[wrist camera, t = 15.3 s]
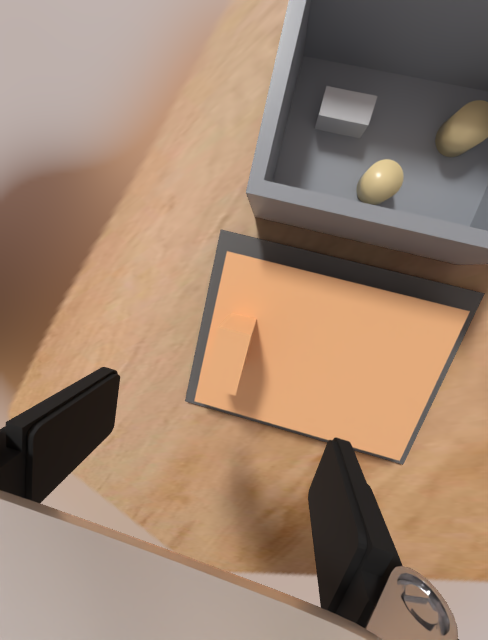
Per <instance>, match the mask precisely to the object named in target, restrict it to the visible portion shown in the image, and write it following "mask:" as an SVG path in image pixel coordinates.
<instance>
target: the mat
mask: <svg viewBox="0 0 488 640" xmlns="http://www.w3.org/2000/svg"><path fill="white" fill-rule="evenodd" d="M227 251H228V252H233V253H237V254H241V255H245V256H249V257H253V258H257V259H261V260H265V261H269V262H273V263H277V264H281V265H285V266H289V267H293V268H297V269H301V270H305V271H309V272H313V273H317V274H321V275H325V276H329V277H333V278H337V279H341V280H345V281H349V282H353V283H358V284H362V285H366V286H370V287H374V288H378V289H382V290H386V291H390V292H394V293H398V294H402V295H406V296H410V297H414V298H418V299H422V300H426V301H430V302H434V303H438V304H442V305H446V306H450V307H454V308H458V309H462V310H466V311H470V312H469V314H468V316H467V319H466V321H465V323H464V325H463V327H462V329H461V331H460V333H459V336H458V338H457V340H456V342H455V344H454V346H453V348H452V350H451V353H450V355H449V357H448V359H447V361H446V363H445V365H444V367H443V370H442V372H441V374H440V376H439V378H438V380H437V382H436V385H435V387H434V389H433V391H432V393H431V395H430V397H429V399H428V402H427V404H426V406H425V408H424V410H423V412H422V414H421V416H420V419H419V421H418V423H417V425H416V427H415V429H414V431H413V433H412V436H411V438H410V440H409V442H408V444H407V446H406V448H405V451H404V453H403V455H402V457H401V459H400V461H399V460H395V459H392V458H388V457H385V456H381V455H378V454H374V453H371V452H368V451H364V450H361V449H357V448H354V447H353V450H354V451H358V452H361V453H365V454H368V455H372V456H375V457H378V458H382V459H385V460H389V461H392V462H396V463H399V464H402V465H403V464H404V462H405V460H406V457H407V455H408V453H409V451H410V449H411V447H412V445H413V443H414V441H415V439H416V436H417V434H418V432H419V430H420V428H421V426H422V424H423V422H424V420H425V418H426V415H427V413H428V411H429V409H430V407H431V405H432V403H433V401H434V399H435V397H436V394H437V392H438V390H439V388H440V386H441V384H442V382H443V380H444V378H445V376H446V373H447V371H448V369H449V367H450V365H451V363H452V361H453V359H454V357H455V355H456V352H457V350H458V348H459V346H460V344H461V342H462V340H463V338H464V336H465V333H466V331H467V329H468V327H469V325H470V323H471V321H472V319H473V317H474V315H475V312H476V310H477V308H478V306H479V304H480V302H481V300H482V298H483V296H484V294H485V293H481V292H476V291H472V290H468V289H464V288H460V287H456V286H452V285H448V284H443V283H439V282H435V281H431V280H427V279H423V278H419V277H415V276H410V275H406V274H402V273H398V272H394V271H390V270H386V269H382V268H377V267H373V266H369V265H365V264H361V263H357V262H353V261H349V260H344V259H340V258H336V257H332V256H328V255H324V254H320V253H316V252H312V251H307V250H303V249H299V248H295V247H291V246H287V245H283V244H279V243H274V242H270V241H266V240H262V239H258V238H254V237H250V236H246V235H241V234H237V233H233V232H229V231H225V230H221V231H220V236H219V240H218V245H217V250H216V255H215V260H214V264H213V269H212V274H211V279H210V284H209V288H208V293H207V298H206V303H205V308H204V313H203V317H202V322H201V327H200V332H199V337H198V341H197V346H196V351H195V356H194V361H193V365H192V370H191V375H190V380H189V385H188V390H187V394H186V399H185V401H186V402H190V403H193V404H196V405H200V406H203V407H207V408H210V409H214V410H217V411H220V412H224V413H227V414H231V415H234V416H238V417H241V418H244V419H248V420H251V421H255V422H258V423H262V424H265V425H269V426H272V427H275V428H279V429H282V430H286V431H289V432H293V433H296V434H299V435H303V436H306V437H310V438H313V439H317V440H320V441H323V442H327V443H328V441H329V440H326V439H323V438H319V437H316V436H312V435H309V434H306V433H302V432H299V431H295V430H292V429H288V428H285V427H281V426H278V425H275V424H271V423H268V422H264V421H261V420H257V419H254V418H251V417H247V416H244V415H240V414H237V413H233V412H230V411H226V410H223V409H220V408H216V407H213V406H209V405H206V404H202V403H199V402H195V401H194V400H195V396H196V391H197V386H198V382H199V377H200V373H201V368H202V364H203V359H204V354H205V350H206V345H207V341H208V336H209V331H210V327H211V322H212V318H213V313H214V308H215V304H216V299H217V295H218V290H219V285H220V281H221V276H222V272H223V267H224V262H225V258H226V253H227Z"/></svg>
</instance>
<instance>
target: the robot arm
mask: <svg viewBox="0 0 488 640" xmlns="http://www.w3.org/2000/svg"><path fill="white" fill-rule="evenodd" d="M119 382H120V376H119V375H118V373H117V371H116V370H113V369H109V368H106V367H102V368H100V369H98V370H96V371H95V372H93V373H91V374H89V375H88V376H86V377H84V378H82V379H81V380H79V381H77V382H75V383H74V384H72V385H70V386H68V387H67V388H65V389H63V390H61V391H60V392H58V393H56V394H54V395H53V396H51V397H49V398H47V399H46V400H44V401H42V402H40V403H39V404H37V405H35V406H33V407H32V408H30V409H28V410H26V411H25V412H23V413H21V414H19V415H18V416H16V417H14V418H12V419H11V420H9V421H7V422H6V426H5V427H3V428H2V429H0V640H459V639H458V631H457V624H456V622H455V619H454V616H453V613H452V612H451V610H450V608H449V606H448V604H447V602H446V601H445V600H444V598H443V597H442V596H441V594H440V593H439V592H438V590H437V589H436V588H435V587H434V586H433V585H432V584H431V583H430V582H429V581H428V580H427V579H426V578H424V577H423V576H422V575H421V574H419V573H418V572H416V571H414V570H413V569H411V568H408V567H404V566H402V563H401V561H400V558H399V556H398V553H397V551H396V548H395V546H394V543H393V541H392V539H391V536H390V534H389V531H388V529H387V526H386V524H385V521H384V519H383V516H382V514H381V511H380V509H379V506H378V504H377V502H376V499H375V497H374V494H373V492H372V489H371V488H370V486H369V485H368V484H367V483H366V480H365V478H364V475H363V473H362V470H361V468H360V465H359V463H358V460H357V458H356V455H355V452H354V450H353V447H352V445H351V443H350V442H349V441H346V440H343V439H340V438H336V437H335V438H334V439H333V440H329V441H328V443H327V445H326V448H325V451H324V453H323V456H322V458H321V461H320V463H319V466H318V468H317V471H316V474H315V476H314V479H313V481H312V484H311V486H310V489H309V494H308V502H309V510H310V518H311V527H312V535H313V544H314V552H315V561H316V569H317V578H318V586H319V594H320V603H321V608H320V607H318V606H315V605H313V604H310V603H308V602H305V601H303V600H300V599H298V598H295V597H293V596H290V595H288V594H285V593H283V592H280V591H277V590H275V589H272V588H270V587H267V586H264V585H262V584H259V583H256V582H253V581H251V580H248V579H245V578H243V577H240V576H237V575H235V574H232V573H229V572H227V571H224V570H221V569H219V568H216V567H213V566H211V565H208V564H205V563H203V562H200V561H197V560H195V559H192V558H189V557H186V556H184V555H181V554H178V553H176V552H173V551H170V550H167V549H165V548H162V547H159V546H156V545H154V544H151V543H148V542H145V541H143V540H140V539H137V538H134V537H132V536H129V535H126V534H123V533H121V532H118V531H115V530H113V529H110V528H107V527H104V526H101V525H99V524H96V523H93V522H90V521H87V520H85V519H82V518H79V517H76V516H73V515H71V514H68V513H65V512H62V511H59V510H57V509H54V508H51V507H48V506H45V505H43V504H40V503H41V502H42V501H43V500H44V499H45V498H46V497H47V496H48V495H49V494H50V493H51V492H52V491H53V490H54V489H55V488H56V487H57V486H58V485H59V484H60V483H61V482H62V481H63V480H64V479H65V478H66V477H67V476H68V475H69V474H70V473H71V472H72V471H73V470H74V469H75V468H76V467H77V466H78V465H79V464H80V463H81V462H82V461H83V460H84V459H85V458H86V457H87V456H88V455H89V454H90V453H91V452H92V451H93V450H94V449H95V448H96V447H97V446H98V445H99V444H100V443H101V442H102V441H103V440H104V439H105V438H106V437H107V436H108V435H109V434H110V433H111V432H112V430H113V428H114V423H115V415H116V407H117V399H118V390H119Z"/></svg>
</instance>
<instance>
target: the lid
mask: <svg viewBox="0 0 488 640" xmlns="http://www.w3.org/2000/svg"><path fill="white" fill-rule="evenodd" d="M469 312H470V311H466V310H462V309H458V308H454V307H450V306H446V305H442V304H438V303H434V302H430V301H426V300H422V299H418V298H414V297H410V296H406V295H402V294H398V293H394V292H390V291H386V290H382V289H378V288H374V287H370V286H366V285H362V284H358V283H353V282H349V281H345V280H341V279H337V278H333V277H329V276H325V275H321V274H317V273H313V272H309V271H305V270H301V269H297V268H293V267H289V266H285V265H281V264H277V263H273V262H269V261H265V260H261V259H257V258H253V257H249V256H245V255H241V254H237V253H233V252H228V251H227V253H226V258H225V262H224V267H223V272H222V276H221V281H220V285H219V290H218V295H217V299H216V304H215V308H214V313H213V318H212V322H211V327H210V331H209V336H208V341H207V345H206V350H205V354H204V359H203V364H202V368H201V373H200V377H199V382H198V386H197V391H196V396H195V400H194V401H195V402H199V403H202V404H206V405H209V406H213V407H216V408H220V409H223V410H226V411H230V412H233V413H237V414H240V415H244V416H247V417H251V418H254V419H257V420H261V421H264V422H268V423H271V424H275V425H278V426H281V427H285V428H288V429H292V430H295V431H299V432H302V433H306V434H309V435H312V436H316V437H319V438H323V439H326V440H333V439H334V438H335V437H336V438H340V439H343V440H346V441H349V442H350V443H351V445H352V447H354V448H357V449H361V450H364V451H368V452H371V453H374V454H378V455H381V456H385V457H388V458H392V459H395V460H399V461H400V459H401V457H402V455H403V453H404V451H405V448H406V446H407V444H408V442H409V440H410V438H411V436H412V433H413V431H414V429H415V427H416V425H417V423H418V421H419V419H420V416H421V414H422V412H423V410H424V408H425V406H426V404H427V402H428V399H429V397H430V395H431V393H432V391H433V389H434V387H435V385H436V382H437V380H438V378H439V376H440V374H441V372H442V370H443V367H444V365H445V363H446V361H447V359H448V357H449V355H450V353H451V350H452V348H453V346H454V344H455V342H456V340H457V338H458V336H459V333H460V331H461V329H462V327H463V325H464V323H465V321H466V319H467V316H468V314H469Z"/></svg>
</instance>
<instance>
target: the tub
mask: <svg viewBox="0 0 488 640" xmlns="http://www.w3.org/2000/svg"><path fill="white" fill-rule="evenodd" d="M246 194H247V197H248V200H249V202H250V205H251V208H252V211H253V213H254V216H255V217H258V218H262V219H266V220H271V221H275V222H279V223H283V224H288V225H292V226H296V227H300V228H304V229H309V230H313V231H317V232H321V233H325V234H330V235H334V236H338V237H342V238H347V239H351V240H355V241H359V242H363V243H368V244H372V245H376V246H380V247H385V248H389V249H393V250H397V251H401V252H406V253H410V254H414V255H418V256H423V257H427V258H431V259H435V260H439V261H444V262H448V263H452V264H456V265H472V264H488V0H289V2H288V6H287V11H286V15H285V20H284V24H283V29H282V33H281V38H280V42H279V47H278V51H277V56H276V60H275V65H274V69H273V74H272V78H271V83H270V87H269V92H268V96H267V101H266V105H265V110H264V114H263V118H262V123H261V127H260V132H259V136H258V141H257V145H256V150H255V154H254V159H253V163H252V168H251V172H250V177H249V181H248V186H247V190H246Z"/></svg>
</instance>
